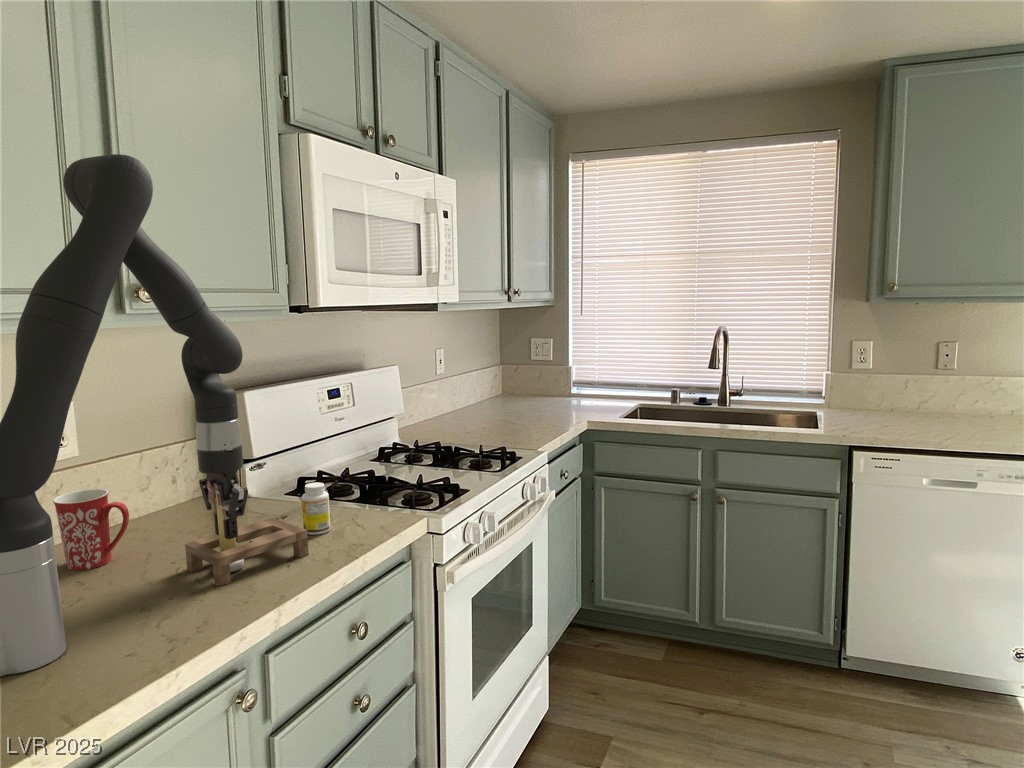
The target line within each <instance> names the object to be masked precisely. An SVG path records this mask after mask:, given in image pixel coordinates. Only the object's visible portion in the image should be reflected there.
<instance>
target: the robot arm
mask: <svg viewBox="0 0 1024 768" xmlns="http://www.w3.org/2000/svg"><path fill="white" fill-rule="evenodd" d="M63 188H64V189H63V190H64V191H65V195H66V196H67V199H68V200H69V202H70V204H71V205H72V206H73V208H74V209H75V210H76V211H77V212H78V214H79V215H80V216H81V217H82V218H81V221H80V223H79V226H78V227H77V229H76V232H75V233H74V235H73V236H72V238H71V239H70V241H68V243H67V244H66V246H65V247H64V248H63V249H62V250H61V251H60V252H59V254H57V256H56V257H55V258H54V259H53V260H52V261H51V262H50V264H49V265H48V266H47V267H46V268H45V269H44V271H43V272H42V273H41V275H40V276H39V277H38V279H37V280H36V282H35V283H34V285H33V287H32V289H31V292H30V293H29V296H28V298H27V300H26V303H25V305H24V308H23V311H22V313H21V316H20V318H19V322H18V326H17V328H16V335H15V381H14V386H13V391H12V395H11V396H10V399H9V402H8V405H7V407H6V410H5V411H4V413H3V417H2V418H1V420H0V677H4V676H7V675H8V676H9V675H15V674H20V673H26V672H29V671H32V670H36V669H38V668H42V667H43V666H46V665H47V664H50V663H52V662H53V661H55V660H57V659H58V658H60V657H61V656H62V655H63V654H64V653H65V651H66V650H67V644H66V633H65V626H64V618H63V608H62V599H61V592H60V591H61V590H60V582H59V575H58V574H59V573H58V566H57V564H58V563H57V559H56V558H57V556H56V549H55V548H56V547H55V541H54V540H55V538H54V530H53V529H54V528H53V522H52V518H51V516H50V514H49V513H48V511H46V509H44V508H43V506H42V505H41V503H40V501H39V499H38V497H37V493H36V492H37V491H39V490H40V489H41V488H42V487H43V486H44V485H46V483H47V481H48V480H49V479H50V476H52V474H53V471H54V469H55V466H56V463H57V460H58V455H59V452H60V447H61V444H62V439H63V435H64V431H65V426H66V422H67V419H68V418H67V417H68V415H69V411H70V407H71V404H72V400H73V397H74V396H75V393H76V390H77V387H78V384H79V381H80V378H81V376H82V373H83V370H84V368H85V365H86V363H87V359H88V357H89V354H90V351H91V349H92V346H93V344H94V342H95V339H96V337H97V334H98V331H99V328H100V326H101V323H102V320H103V318H104V314H105V311H106V308H107V304H108V301H109V299H110V297H111V294H112V291H113V289H114V286H115V284H116V281H117V278H118V276H119V273H120V271H121V267H122V264H124V265H125V267H127V269H128V270H129V271H130V272H131V273H132V275H133V276H134V277H135V279H136V281H138V283H139V284H140V286H141V287H142V288H143V289H144V291H145V292H146V293H147V295H148V296H149V298H150V300H151V301H152V303H153V305H154V306H155V308H156V309H157V311H158V312H159V314H161V316H162V318H163V320H165V322H166V324H167V325H168V327H169V328H170V329H171V330H172V331H173V332H174V333H177V334H179V335H182V336H185V337H187V339H186V340H185V342H184V343H183V345H182V349H181V363H182V368H183V371H184V374H185V378H186V380H187V383H188V386H189V389H190V391H191V394H192V395H193V398H194V410H195V411H194V413H195V422H196V424H195V425H196V426H195V439H196V440H195V441H196V451H197V463H198V465H197V466H198V471H199V472H200V473H201V474H204V475H206V478H202V479H199V481H198V484H199V486H200V487H199V488H200V490H201V494H202V497H203V500H204V505H205V508H206V510H207V511H210V512H211V515H212V516H213V520H214V521H213V522H214V534H215V535H219V530H218V518H217V506H216V493H217V499H218V505H219V507H221V508H222V513H223V518H224V520H223V523H224V535H225V538H226V539H232V538H235V537H237V536H238V528H239V527H238V517H242V516H244V515H245V510H246V505H247V499H248V495H249V489H248V488H247V487H243V488H242V487H241V486H240V485H239V484H240V482H239V481H240V480H239V478H238V474H237V472H238V471H239V470H241V469H242V468H243V467H244V455H243V453H244V452H243V442H242V441H243V440H242V431H241V426H240V421H239V420H240V419H239V407H238V398H237V392H236V390H235V389H234V388H233V387H231V386H229V385H226V384H224V382H223V381H222V379H221V376H220V375H227V374H231V373H234V372H235V371H237V370H238V368H239V367H240V366H241V365H242V362H243V356H244V355H243V349H242V345H241V343H240V341H239V339H238V337H237V336H236V334H235V333H234V332H233V331H232V330H231V329H230V328H229V327H228V326H227V325H226V324H225V323H224V322H223V321H222V319H221V318H219V317H218V315H216V314H215V313H214V312H213V311H212V310H211V309H210V308H209V307H208V305H207V303H206V301H205V299H204V298H203V297H202V295H201V293H200V291H199V290H198V288H197V286H196V285H195V284H194V283H195V282H193V280H192V279H191V277H190V276H189V275H188V273H187V272H186V271H185V270H184V269H183V268H182V267H181V266H180V265H179V264H178V263H177V261H175V260H174V259H173V258H171V256H170V255H168V254H167V253H166V252H165V251H164V250H163V249H162V248H161V247H159V245H157V244H156V243H155V242H154V241H153V240H152V238H151V237H150V236H149V235H148V234H147V233H146V231H144V229H143V227H142V226H141V225H142V223H143V221H144V218H145V217H146V214H147V213H148V211H149V209H150V207H151V204H152V203H151V202H152V200H153V196H154V195H153V193H154V185H153V180H152V177H151V174H150V172H149V170H148V169H147V167H146V166H145V164H144V163H143V162H141V160H139V159H137V158H136V157H134V156H130V155H126V154H115V153H114V154H104V155H96V156H91V157H86V158H85V157H83V158H80V159H77V160H75V161H73V162H72V163H70V164H69V165H68V167H66V169H65V172H64V175H63ZM215 492H216V493H215ZM229 499H231V500H230V501H228V502H224V501H225V500H229ZM228 506H229V510H228Z"/></svg>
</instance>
